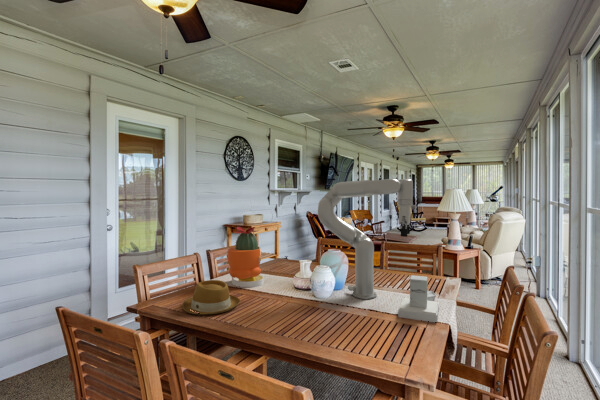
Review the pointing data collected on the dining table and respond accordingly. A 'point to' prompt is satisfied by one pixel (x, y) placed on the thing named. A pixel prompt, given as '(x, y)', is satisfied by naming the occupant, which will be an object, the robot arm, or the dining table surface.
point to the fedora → (210, 298)
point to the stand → (419, 311)
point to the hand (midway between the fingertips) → (405, 235)
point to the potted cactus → (245, 260)
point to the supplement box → (418, 291)
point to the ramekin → (430, 295)
